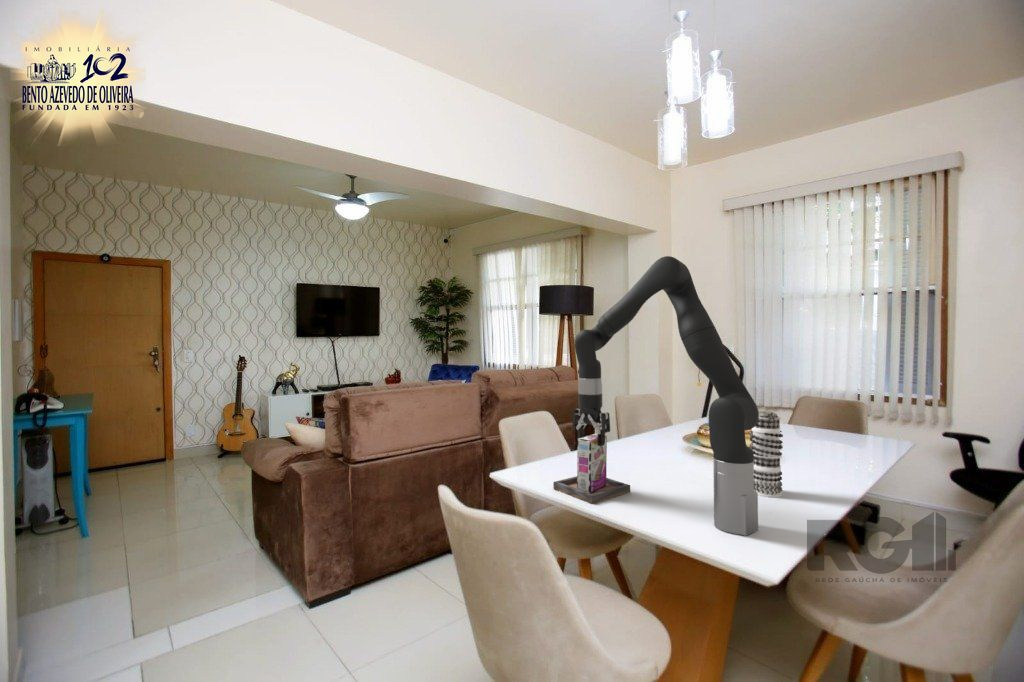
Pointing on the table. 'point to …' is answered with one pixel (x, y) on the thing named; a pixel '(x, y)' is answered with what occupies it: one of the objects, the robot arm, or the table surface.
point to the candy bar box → (591, 464)
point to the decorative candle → (767, 455)
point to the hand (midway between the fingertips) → (590, 443)
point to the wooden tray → (601, 494)
